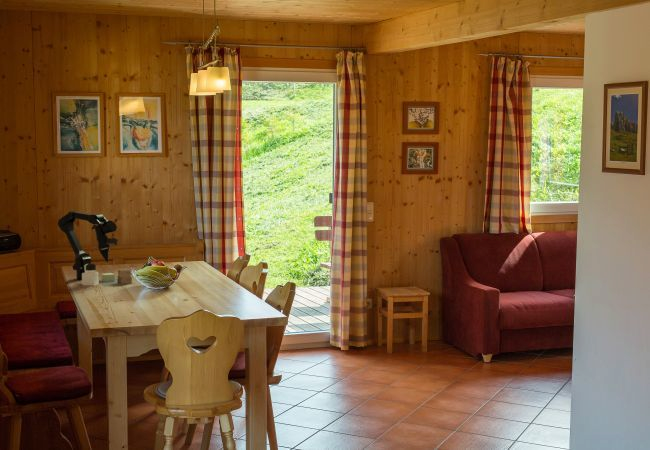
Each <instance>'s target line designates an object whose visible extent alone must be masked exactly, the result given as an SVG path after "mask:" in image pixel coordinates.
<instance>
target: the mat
mask: <svg viewBox="0 0 650 450" xmlns="http://www.w3.org/2000/svg"><path fill="white" fill-rule="evenodd" d="M99 284H100V285H101V286H104V287H117V286H129V285H131V286H132V285H133V286H134V285H135V283H134V282H132V284H123V285H122V284H118V283H117V279H116V278H115V281H112V282H103V281H102V279H100V280H99Z"/></svg>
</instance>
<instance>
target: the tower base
mask: <svg viewBox="0 0 650 450" xmlns="http://www.w3.org/2000/svg"><path fill="white" fill-rule="evenodd" d="M116 277H117V283H118V284H122V285H121V286H124V285H123V284H132V283H133V280H132V279H133V277H132V276H131V277H119V276H118V275H117V276H116Z"/></svg>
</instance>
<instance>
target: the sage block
mask: <svg viewBox="0 0 650 450" xmlns="http://www.w3.org/2000/svg"><path fill="white" fill-rule="evenodd" d="M115 279H116V276H115V274H114V273H112V272H110V273H101V280H102V281H103V282H112V281H115Z"/></svg>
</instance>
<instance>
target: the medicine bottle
mask: <svg viewBox="0 0 650 450" xmlns="http://www.w3.org/2000/svg"><path fill="white" fill-rule="evenodd" d="M96 267H97V266H96V264H95V263H91V264H86V265H85V273H82V280H81V285H82V286H97V285H99V284H100V283H99V279H100V278H99V275H100V273H99V271H97V270H96Z"/></svg>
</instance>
